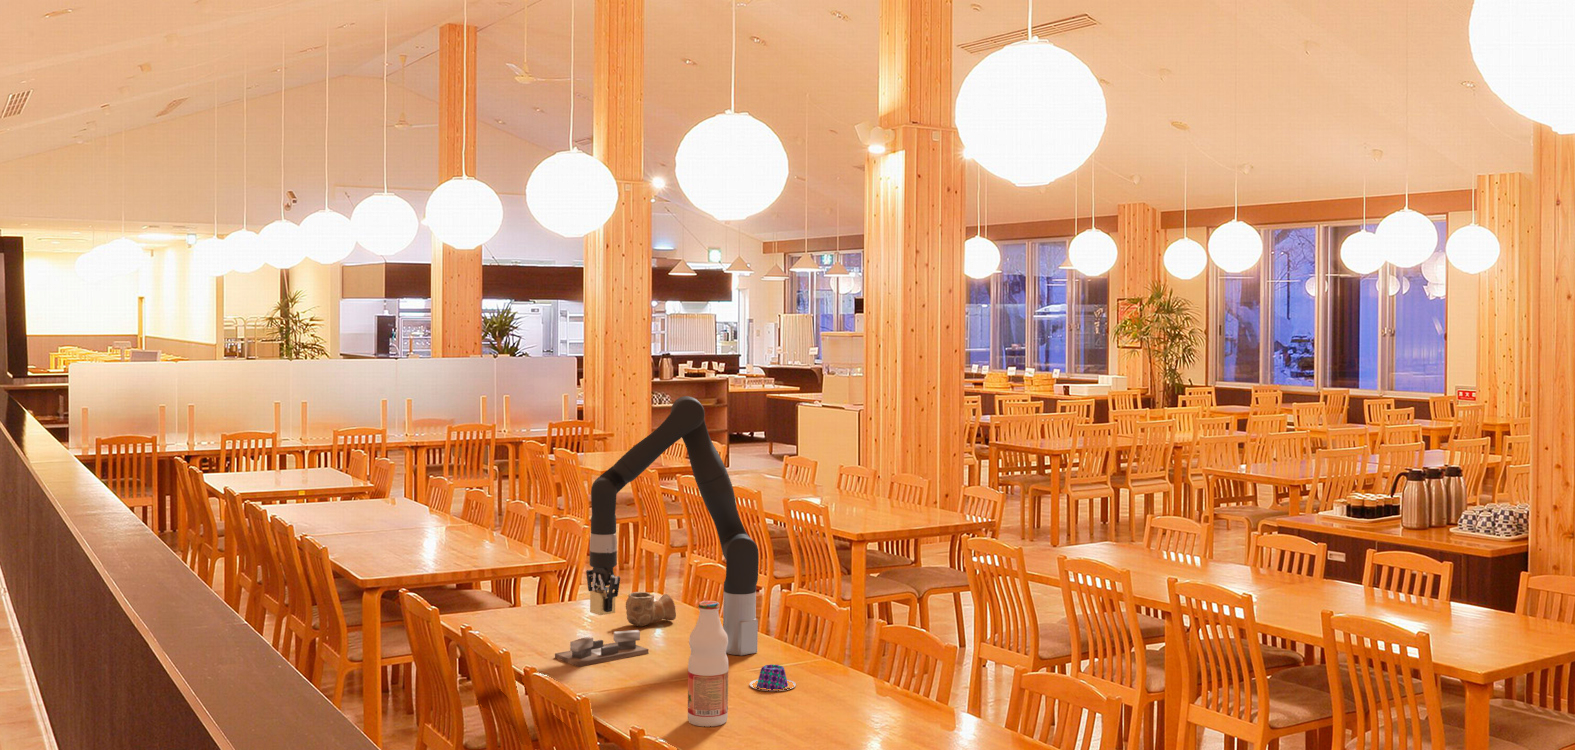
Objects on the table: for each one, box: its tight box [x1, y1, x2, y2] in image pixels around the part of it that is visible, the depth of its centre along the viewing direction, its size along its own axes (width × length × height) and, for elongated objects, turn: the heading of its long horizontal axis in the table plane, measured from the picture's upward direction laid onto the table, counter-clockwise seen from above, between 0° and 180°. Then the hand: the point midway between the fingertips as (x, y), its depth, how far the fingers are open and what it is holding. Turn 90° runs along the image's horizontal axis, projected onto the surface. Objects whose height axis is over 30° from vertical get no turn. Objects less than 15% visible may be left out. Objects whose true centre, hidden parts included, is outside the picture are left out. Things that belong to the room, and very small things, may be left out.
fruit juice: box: [687, 600, 729, 728], centre depth 297 cm, size 9×9×28 cm
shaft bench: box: [554, 629, 649, 668], centre depth 355 cm, size 12×23×6 cm, turn 131°
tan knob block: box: [589, 589, 616, 616], centre depth 355 cm, size 5×5×6 cm
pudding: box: [749, 664, 797, 692], centre depth 328 cm, size 12×12×5 cm
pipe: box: [625, 591, 677, 627], centre depth 393 cm, size 9×16×10 cm, turn 131°
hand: (602, 609), depth 355 cm, fingers closed on tan knob block, 5 cm apart
